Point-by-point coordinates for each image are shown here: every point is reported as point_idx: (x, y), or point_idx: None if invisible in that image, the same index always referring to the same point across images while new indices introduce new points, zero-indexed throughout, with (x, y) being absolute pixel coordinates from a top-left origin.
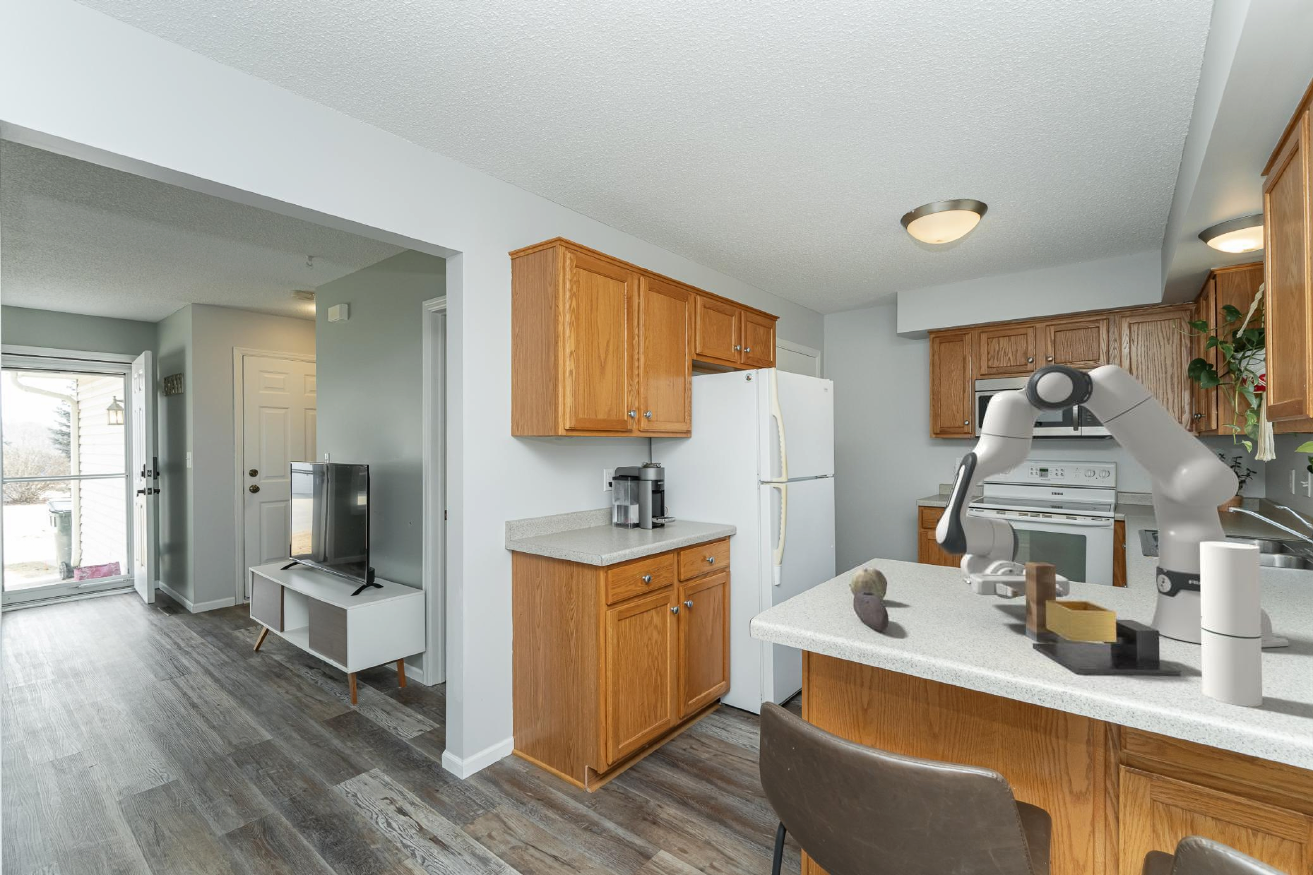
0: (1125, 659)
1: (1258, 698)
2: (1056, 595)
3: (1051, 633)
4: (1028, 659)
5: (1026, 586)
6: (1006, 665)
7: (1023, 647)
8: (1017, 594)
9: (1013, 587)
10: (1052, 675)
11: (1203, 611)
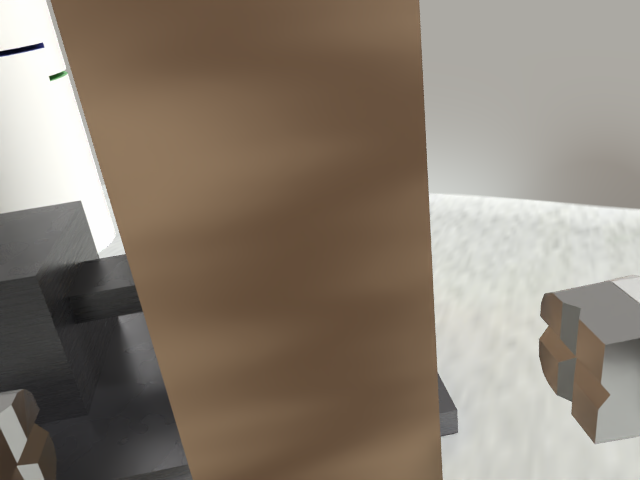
0: (131, 333)
1: None
2: (52, 445)
3: None
4: (500, 311)
5: (426, 286)
6: (583, 255)
7: (507, 433)
8: (545, 342)
9: (604, 320)
10: (444, 237)
11: (43, 22)
